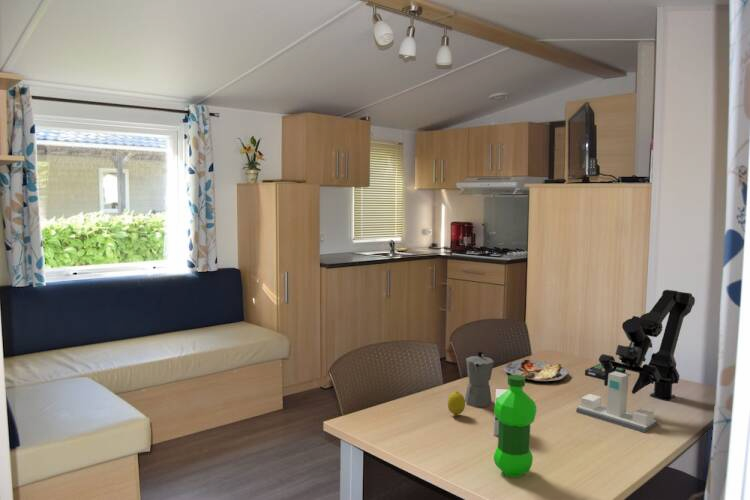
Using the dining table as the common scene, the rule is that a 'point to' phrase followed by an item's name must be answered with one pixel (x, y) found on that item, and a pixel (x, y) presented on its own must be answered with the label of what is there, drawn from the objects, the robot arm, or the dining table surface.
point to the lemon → (456, 403)
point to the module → (617, 394)
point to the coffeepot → (479, 380)
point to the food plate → (537, 370)
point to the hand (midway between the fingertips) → (618, 389)
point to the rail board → (636, 420)
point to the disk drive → (600, 371)
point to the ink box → (496, 421)
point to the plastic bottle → (514, 428)
